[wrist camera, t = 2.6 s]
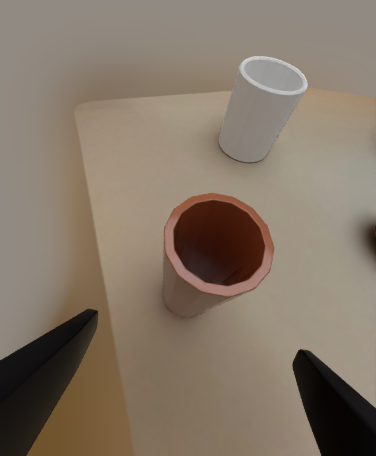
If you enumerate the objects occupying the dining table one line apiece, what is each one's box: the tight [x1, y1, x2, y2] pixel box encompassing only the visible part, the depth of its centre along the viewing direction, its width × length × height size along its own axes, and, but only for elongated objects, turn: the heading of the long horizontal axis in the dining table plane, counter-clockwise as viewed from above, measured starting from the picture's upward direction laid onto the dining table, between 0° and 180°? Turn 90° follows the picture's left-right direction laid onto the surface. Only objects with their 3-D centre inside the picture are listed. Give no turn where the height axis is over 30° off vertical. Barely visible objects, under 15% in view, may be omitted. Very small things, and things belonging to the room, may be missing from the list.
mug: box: [219, 56, 308, 163], centre depth 28 cm, size 8×12×10 cm
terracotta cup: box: [163, 193, 274, 318], centre depth 14 cm, size 5×5×13 cm
